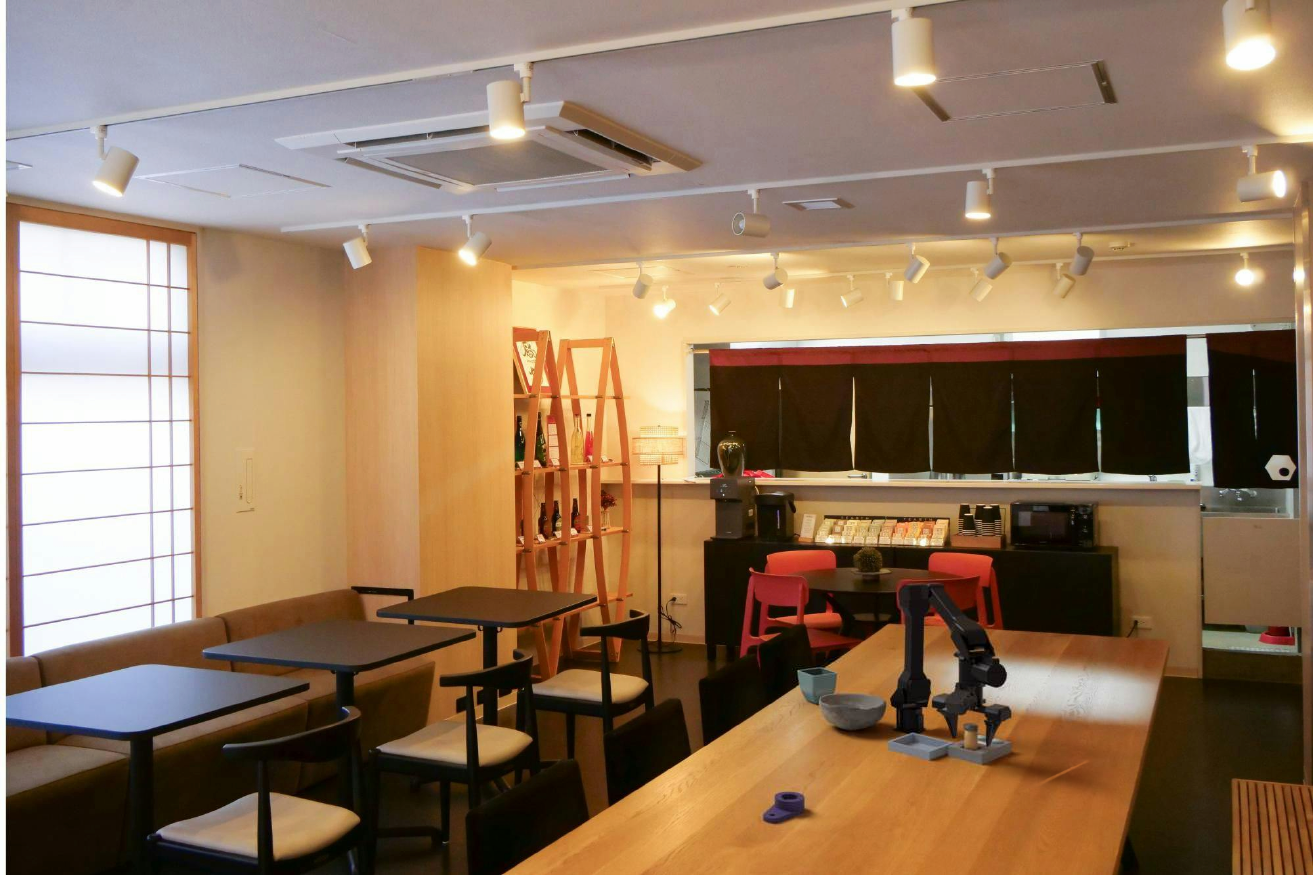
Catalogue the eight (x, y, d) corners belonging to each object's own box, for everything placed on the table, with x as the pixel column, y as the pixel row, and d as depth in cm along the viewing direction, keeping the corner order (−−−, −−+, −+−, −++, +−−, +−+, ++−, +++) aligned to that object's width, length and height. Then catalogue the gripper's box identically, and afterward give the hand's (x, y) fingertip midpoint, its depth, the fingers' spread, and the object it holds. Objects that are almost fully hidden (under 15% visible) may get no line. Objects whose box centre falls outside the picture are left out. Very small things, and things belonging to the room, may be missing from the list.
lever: (784, 804, 230) (784, 789, 230) (810, 810, 226) (810, 795, 226) (754, 820, 220) (754, 805, 220) (780, 827, 216) (780, 811, 216)
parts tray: (887, 751, 266) (887, 741, 266) (912, 742, 273) (912, 732, 273) (929, 762, 257) (929, 751, 257) (953, 752, 264) (953, 742, 264)
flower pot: (796, 699, 317) (796, 669, 317) (821, 696, 321) (821, 666, 321) (813, 706, 309) (812, 675, 309) (838, 703, 313) (838, 672, 313)
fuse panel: (948, 758, 260) (948, 743, 260) (978, 746, 269) (978, 732, 269) (981, 766, 253) (981, 752, 253) (1010, 754, 263) (1010, 740, 263)
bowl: (882, 719, 295) (882, 690, 295) (890, 737, 277) (890, 707, 277) (817, 718, 297) (817, 689, 297) (820, 736, 279) (820, 706, 279)
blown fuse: (961, 757, 259) (961, 724, 259) (968, 754, 261) (968, 722, 261) (973, 760, 256) (973, 727, 256) (981, 757, 259) (980, 725, 258)
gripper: (919, 677, 260) (919, 740, 260) (988, 690, 246) (988, 757, 246) (944, 670, 267) (944, 731, 268) (1012, 682, 254) (1012, 747, 254)
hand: (970, 742), depth 259 cm, fingers open, 9 cm apart
